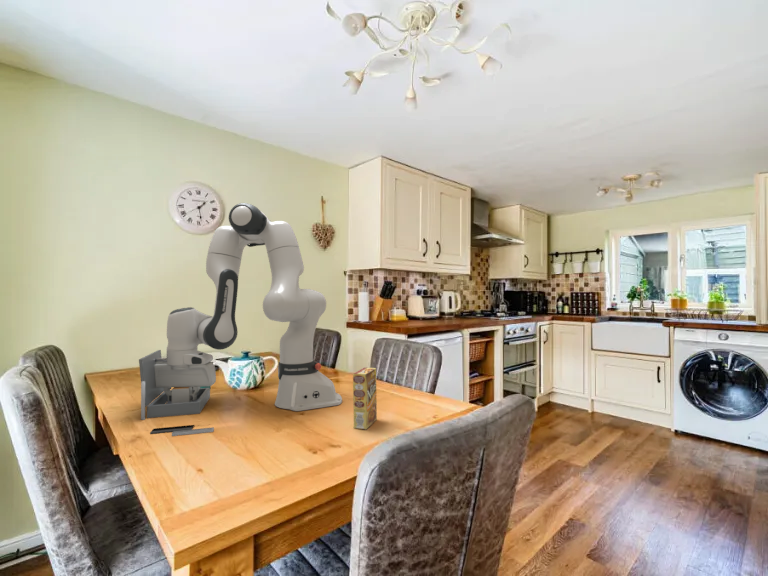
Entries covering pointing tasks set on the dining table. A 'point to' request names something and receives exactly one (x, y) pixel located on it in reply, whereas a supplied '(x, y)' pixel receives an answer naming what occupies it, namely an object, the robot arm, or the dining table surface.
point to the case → (173, 404)
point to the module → (181, 394)
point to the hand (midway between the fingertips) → (182, 400)
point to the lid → (150, 376)
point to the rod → (192, 431)
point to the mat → (171, 429)
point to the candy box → (364, 398)
